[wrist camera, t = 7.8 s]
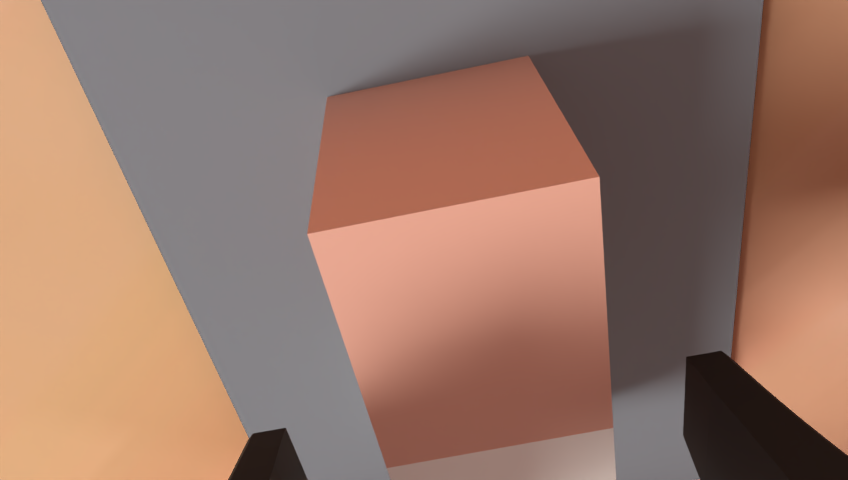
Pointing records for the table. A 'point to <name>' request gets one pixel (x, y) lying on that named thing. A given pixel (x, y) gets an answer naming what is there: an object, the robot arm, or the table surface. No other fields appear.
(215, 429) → the table surface
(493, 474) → the two-tone block
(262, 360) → the mat
